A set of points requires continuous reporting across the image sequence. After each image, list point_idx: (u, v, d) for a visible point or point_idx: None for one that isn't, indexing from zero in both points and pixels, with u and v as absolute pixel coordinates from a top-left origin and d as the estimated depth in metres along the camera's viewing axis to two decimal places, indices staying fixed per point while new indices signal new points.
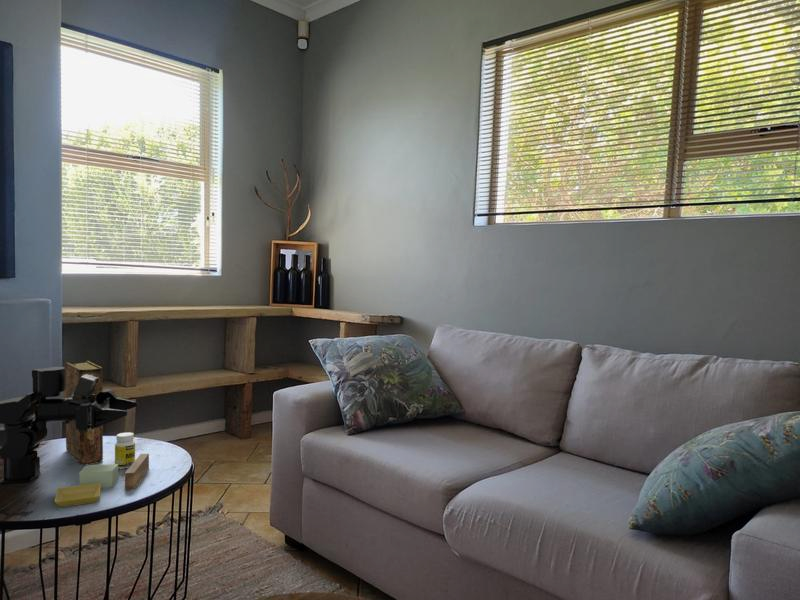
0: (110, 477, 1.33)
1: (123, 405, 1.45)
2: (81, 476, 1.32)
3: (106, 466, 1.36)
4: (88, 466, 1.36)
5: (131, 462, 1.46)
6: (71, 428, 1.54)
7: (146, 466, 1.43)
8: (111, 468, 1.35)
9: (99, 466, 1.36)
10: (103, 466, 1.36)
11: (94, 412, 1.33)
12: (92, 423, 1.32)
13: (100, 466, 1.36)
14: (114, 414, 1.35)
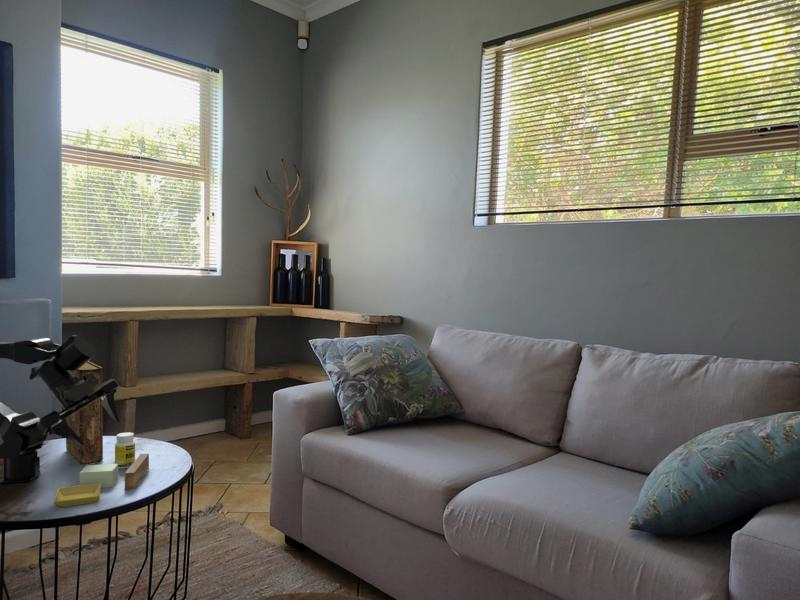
0: (110, 477, 1.33)
1: (110, 412, 1.39)
2: (81, 476, 1.32)
3: (106, 466, 1.36)
4: (88, 466, 1.36)
5: (131, 462, 1.46)
6: (71, 428, 1.54)
7: (146, 466, 1.43)
8: (111, 468, 1.35)
9: (98, 466, 1.36)
10: (103, 466, 1.36)
11: (55, 429, 1.29)
12: (50, 433, 1.30)
13: (100, 466, 1.36)
14: (72, 439, 1.31)
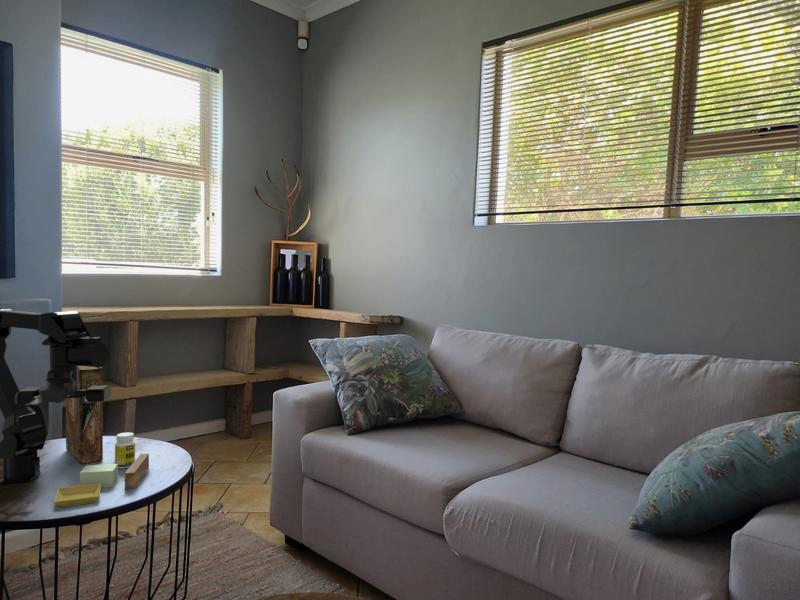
0: (111, 477, 1.33)
1: None
2: (81, 476, 1.32)
3: (106, 466, 1.36)
4: (87, 466, 1.36)
5: (131, 462, 1.46)
6: (71, 428, 1.54)
7: (146, 466, 1.43)
8: (111, 468, 1.35)
9: (98, 466, 1.36)
10: (103, 466, 1.36)
11: None
12: None
13: (100, 466, 1.36)
14: None
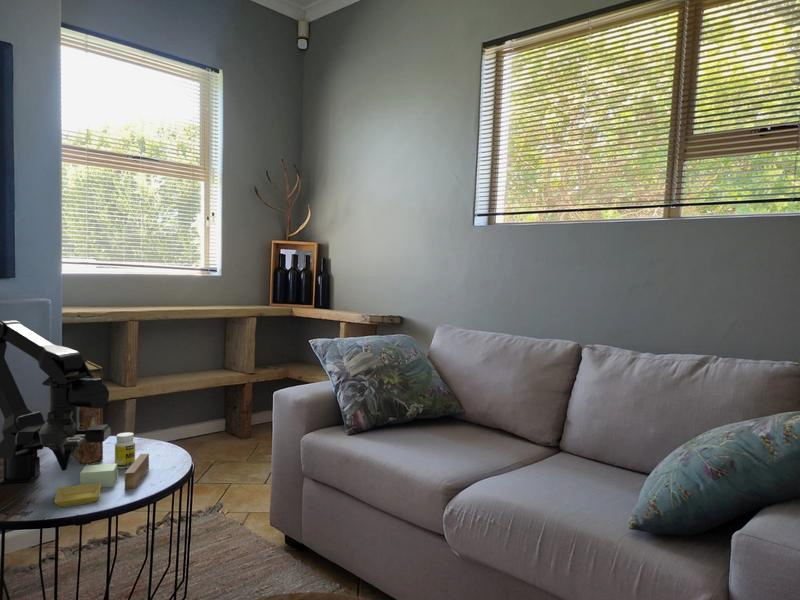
0: (112, 476, 1.34)
1: None
2: (82, 477, 1.32)
3: (106, 466, 1.36)
4: (87, 466, 1.36)
5: (131, 462, 1.46)
6: None
7: (146, 466, 1.43)
8: (111, 468, 1.35)
9: (98, 466, 1.36)
10: (102, 466, 1.36)
11: None
12: None
13: (99, 466, 1.36)
14: None
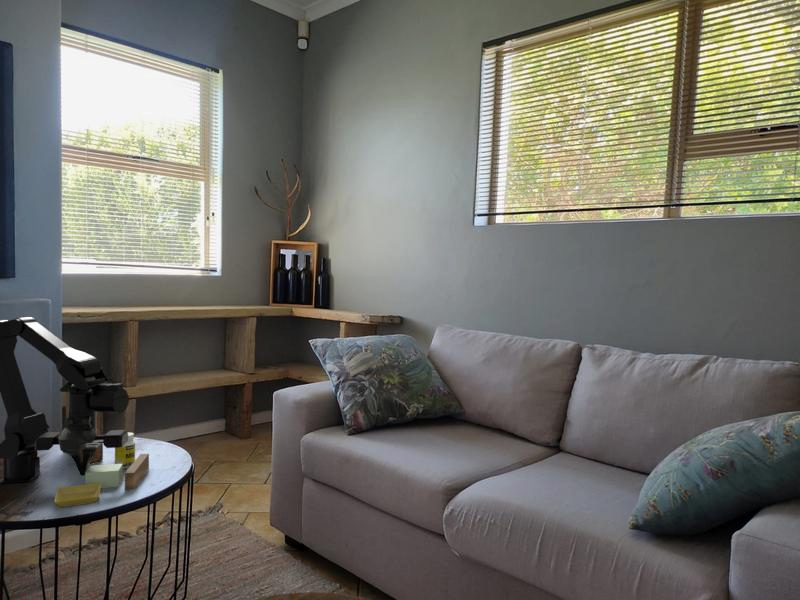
0: (117, 477, 1.33)
1: None
2: (87, 476, 1.32)
3: (111, 466, 1.36)
4: (92, 466, 1.36)
5: (131, 462, 1.46)
6: None
7: (146, 466, 1.43)
8: (117, 468, 1.35)
9: (103, 466, 1.36)
10: (108, 466, 1.36)
11: None
12: None
13: (105, 466, 1.36)
14: None
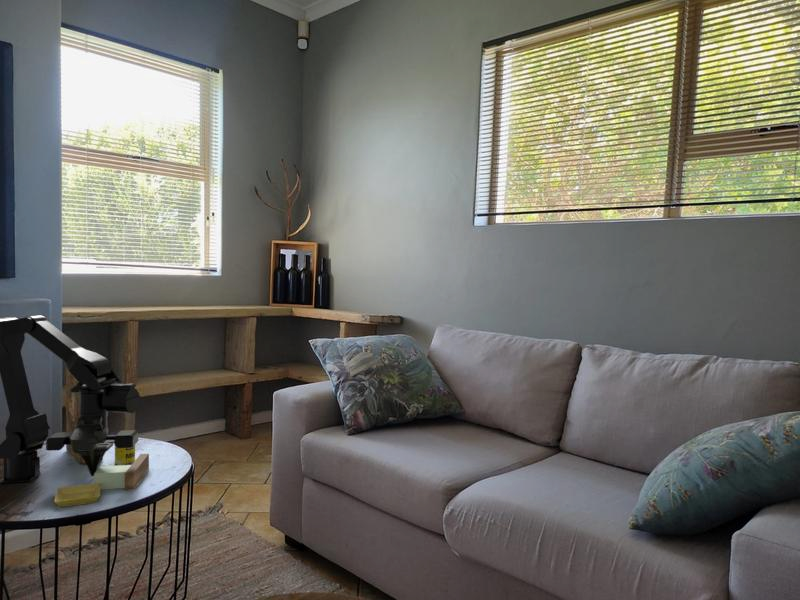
0: None
1: None
2: (96, 477, 1.32)
3: (121, 467, 1.35)
4: (103, 466, 1.36)
5: (131, 462, 1.46)
6: (71, 428, 1.54)
7: (146, 466, 1.43)
8: (125, 469, 1.34)
9: (113, 467, 1.36)
10: (117, 467, 1.36)
11: None
12: None
13: (114, 467, 1.36)
14: None
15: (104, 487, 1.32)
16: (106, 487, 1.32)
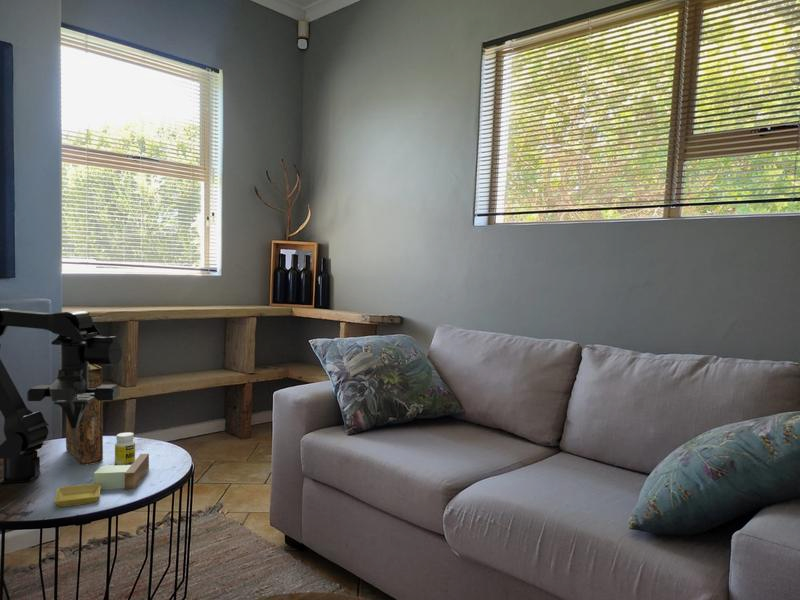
0: (124, 478, 1.33)
1: None
2: (95, 477, 1.32)
3: (120, 467, 1.35)
4: (102, 466, 1.36)
5: (131, 462, 1.46)
6: (71, 428, 1.54)
7: (146, 466, 1.43)
8: (125, 469, 1.34)
9: (113, 467, 1.36)
10: (117, 467, 1.36)
11: None
12: None
13: (114, 467, 1.36)
14: None
15: (103, 486, 1.32)
16: (105, 487, 1.32)
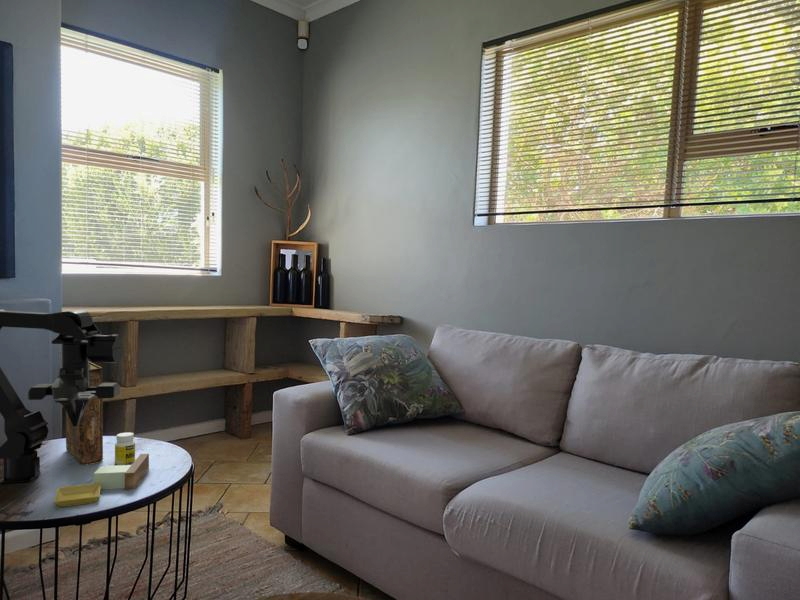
0: (124, 478, 1.33)
1: None
2: (95, 477, 1.32)
3: (120, 467, 1.35)
4: (102, 466, 1.36)
5: (131, 462, 1.46)
6: (71, 428, 1.54)
7: (146, 466, 1.43)
8: (125, 469, 1.34)
9: (113, 467, 1.36)
10: (117, 467, 1.36)
11: None
12: None
13: (114, 467, 1.36)
14: None
15: (103, 486, 1.32)
16: (106, 487, 1.32)
